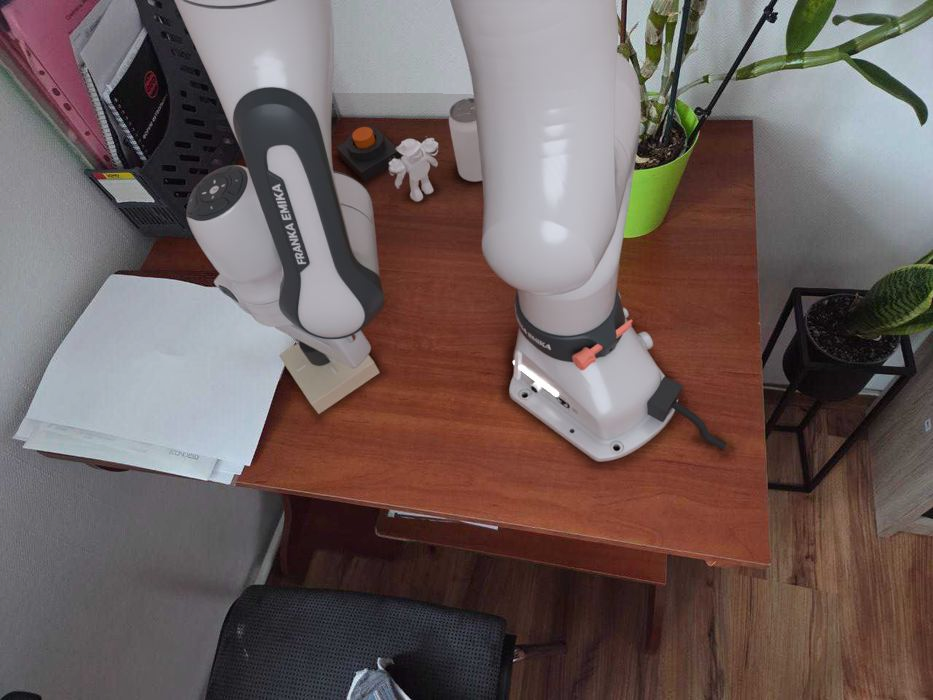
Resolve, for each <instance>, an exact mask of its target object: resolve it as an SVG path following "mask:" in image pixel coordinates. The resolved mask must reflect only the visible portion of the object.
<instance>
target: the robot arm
mask: <svg viewBox="0 0 933 700" xmlns="http://www.w3.org/2000/svg"><path fill="white" fill-rule="evenodd" d="M173 1H174V3H175V5H176V7H177V10H178V12H179V14H180V17H181V19H182V22H183V23H184V25H185V27H186V30H187V32H188V34H189V36H190V38H191V41H192V43H193V45H194V47H195V50H196V51H197V54H198V56H199V58H200V60H201V62H202V64H203V66H204V69H205V71H206V73H207V75H208V78H209V80H210V82H211V84H212V86H213V89H214V91H215V93H216V95H217V97H218V100H219V102H220V104H221V107H222V109H223V112H224V114H225V117H226V119H227V122H228V124H229V126H230V128H231V131H232V133H233V135H234V138H235V140H236V142H237V144H238V147H239V148H240V151H241V153H242V156H243V160H244V162H245V166H243V165H237V164H233V165H232V164H231V165H226V166H222V167H220V168H217V169H215V170H213V171H211V172H210V173H208V174H207V175H205V176H203V178H202V179H201V180H199V182H198V183H197V184H196V185H195V186H194V188H193V189H192V191H191V193H190V194H189V195H190V196H189V198H188V201H187V205H186V212H185V213H186V221H187V224H188V227H189V229H190V231H191V233H192V235H193V236H194V239H195V240H196V242H197V244H198V246H199V247H200V249H201V250H202V252H203V253H204V255H205V256H206V258H207V259H208V260H209V262H210V263H211V264H212V266H213V267H214V269H215V270H216V271H217V273H218V275H217V276H216V277H215V279H214V280H213V284H214V285H215V287H216V288H217V289H218V290H219V291H220V292H221V293H223V294H224V295H225V296H227V297H229V298H231V300H232V301H233V302H234V303H235V304H236V305H237V306H238V307H239V308H240V309H242V310H243V311H244V312H245V313H247V314H248V315H250V316H251V318H253V320H255V321H256V322H257V323H258V324H260V325H262V326H266V327H269V328H275V329H276V330H278V331H280V332H282V333H284V334H286V335H288V337H290V338H291V339H293V341H294V343H295V345H296V344H298V345H299V341H301V342H303V343H305V344H307V345H308V346H310V347H312V348H314V349H316V350H318V351H320V352H322V355H323V356H324V357H325V359H326V360H328V361H330V362H332V363H334V364H335V363H336V362H337V361H338V362H340V363H342V364H344V365H346V366H348V367H350V368H352V369H354V368H357V367H358V366H359V365H360V364H361V363H362V362H363V361H364V360H365V358H366V357H367V356H368V355H370V353H371V351H372V346H371V344H370V341H369V340H368V339H367V337H366V336H365V334H364V332H363V331H362V330H364V329H365V328H366V327H367V326H369V325H370V324H371V323H372V322H373V321H374V320H375V319H376V318H377V317H378V315H379V314H380V313H381V312H382V310H383V309H384V307H385V303H386V302H385V294H384V288H383V283H382V279H381V277H380V275H381V274H380V265H379V256H378V246H377V245H378V244H377V233H376V225H375V216H374V208H373V204H374V203H373V198H372V196H371V194H370V192H369V191H368V190H367V188H366V187H365V186H364V185H363V184H362V183H361V182H360V181H358V180H357V179H355V178H354V177H352V176H351V175H348V174H346V173H343V172H340V171H335V170H334V167H333V154H332V118H333V117H332V115H333V114H332V113H333V93H334V92H333V91H334V67H335V32H334V16H333V4H332V0H173ZM449 1H450V4H451V9H452V11H453V15H454V19H455V22H456V25H457V30H458V32H459V35H460V39H461V42H462V45H463V49H464V53H465V57H466V59H467V64H468V69H469V74H470V79H471V85H472V92H473V93H472V95H473V98H474V103H475V112H476V123H477V134H478V144H479V153H480V163H481V172H482V181H481V183H482V196H483V197H482V199H483V200H482V201H483V212H482V215H483V218H482V230H481V231H482V233H481V251H482V254H483V258H484V259H485V262H486V263H487V265H488V266H489V267H490V269H491V270H492V271H493V273H494V274H495V275H496V276H497V277H498V278H500V279H501V280H502V281H503V282H505V283H506V284H508V285H509V286H511V287H512V288H514V289H516V291H515V299H514V301H515V302H514V314H515V317H516V318H515V319H516V322H517V326H518V330H517V337H516V343H515V347H514V350H513V355H512V364H513V365H512V366H513V374H512V378H511V380H510V383H509V386H508V395H509V397H510V399H511V400H512V401H513V402H515V403H517V405H519V406H520V407H522V408H523V409H524V410H525V411H527V412H528V413H530V414H531V415H533V416H534V417H535V418H537V419H538V420H540V421H541V422H542V423H543V424H545V425H546V426H547V427H549V428H550V429H551V430H553V431H554V432H555V433H557V434H558V435H559V436H560V437H562V438H564V440H566V441H568V442H569V443H570V444H572V445H573V446H574V447H576V448H577V449H578V450H580V451H581V452H582V453H584V454H585V455H587V456H588V457H589V458H590V459H592V460H593V461H595V462H601V463H602V462H611V461H614V460H618V459H620V458H623V457H626V456H628V455H630V454H631V453H634V452H635V451H637V450H638V449H640V448H642V447H643V446H645V445H646V444H647V443H648V442H650V441H651V440H652V439H653V438H654V437H656V436H657V435H658V434H659V433H660V432H661V431H662V430H663V429H664V428H665V427H666V426H667V424H668V423H669V422H670V421H671V419H672V417H673V416H674V414H675V412H677V413H678V414H680V415H682V416H683V417H685V418H686V419H687V420H689V421H690V422H691V423H692V424H693V425H695V426H696V428H697V429H698V431H699V434H700V435H701V437H702V438H703V439H704V440H705V441H706V442H707V443H709V444H711V445H712V446H714V447H716V448H718V449H720V450H722V451H723V450H724V449H725V448H726V446H727V445H728V443H727V442H726V441H723V440H721V439H719V438H717V437H715V436H714V435H712V434H711V433H710V432H709V429H708V426H707V425H706V423H705V422H704V421H703V420H702V419H701V418H700V417H699V416H698V415H697V414H695V413H694V412H693V411H692V410H690V409H688V408H687V407H685V405H682V403H680V402H679V398H680V396H681V393H682V390H683V387H684V385H682V384H681V383H678V382H676V381H675V380H673V379H671V378H669V377H667V376H666V375H665V374H664V373H663V371H662V370H661V369H660V367H659V366H658V365H657V363H656V362H655V360H654V359H653V356H651V354H650V352H649V350H650V349H652V348H653V347H654V342H653V339H652V337H651V335H650V334H649V333H648V332H647V331H641V332H639V333H637V332H636V331H635V329H634V327H633V319H632V318H631V319H629V320H628V317H629V316H630V315H629V311H628V310H627V308H625V307H623V304H622V301H621V293H620V292H619V290H618V287H617V286H618V279H619V271H620V270H619V269H620V261H621V253H622V247H623V241H624V235H625V229H626V224H627V219H628V218H627V217H628V211H629V206H630V198H631V193H632V186H633V180H634V173H635V168H636V167H635V166H636V161H637V153H638V147H639V139H640V133H641V125H642V101H641V89H640V87H641V86H640V81H639V76H638V74H637V73H636V70H635V68H634V67H633V65H632V64H631V63H630V62H629V61H628V60H627V59H626V58H625V57H624V56H623V55H622V54H620V53H618V44H619V19H618V9H617V8H618V7H617V0H449ZM524 395H525V396H527V397H523V396H524ZM616 447H617V448H618V449H619V450H615V449H614V448H616Z"/></svg>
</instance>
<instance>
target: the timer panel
mask: <svg viewBox="0 0 933 700" xmlns="http://www.w3.org/2000/svg"><path fill="white" fill-rule="evenodd" d="M278 357H279V358H280V360H281V361H282V363H283V364H284V365H285V368H286V370H287V371H288V372H289V373H290V375H291V376H292V378H293V380H294V381H295V383H296V384H297V385H298V387H299V389H300V390H301V392H302V393H303V395H304V396H305V398H306V400H307V401H308V402H309V404H310V405H311V407H312V408H313V409H314V410H315V411H316V413H317V414H318V415H320V414H321V413H323V412H325V411H326V410H327V409H329V408H331V407H332V406H334V405H335V404H336V403H338V402H339V401H340V400H342V399H343V398H346V396H348V395H349V394H351V393H352V392H354V391H355V390H357V389H358V388H360V387H361V386H362V385H364V384H366V383H367V382H368V381H370V380H371V379H373V378H374V377H376V376H377V375H379V374H380V370H379V368H378V366H377V364H376V363H375V361H374V359H373V358H372V357H371V356H370V354H368V356H367V357H366V358H365V360H364V361H363V362H362V363H361V364H360V365H359V366H358V367H357V368H354V369H352V368H350V367H348V366H346V365H344V364H342V363H340V362H338V361H337V362H336V363H335V364H334V363H332V362H329V363H328V364H326V365H323V366H316V365H313V364H311V363H310V361H309V360H308V359H307V357H306V356H305V354H304V353H303V351H302V350H301V349H300V346H299V345H298V344H296V343H295V344H294V345H292V346H291V347H289V348H288V349H286V350H285V351H283V352H282V353H280V354H278Z"/></svg>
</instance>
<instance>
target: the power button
mask: <svg viewBox="0 0 933 700" xmlns="http://www.w3.org/2000/svg"><path fill="white" fill-rule="evenodd" d="M352 133H353V134H352ZM352 133H351V134H352V137H353V140H354V143H355V145H356V147H357V148H361V149H363V148H368V147H370V146H371V145H373V144H374V143H375V137H374V134H373V131H372V129H371V127H370V128H369V126H361V127H358V128H356V129H355V130H354V131H353V132H352Z"/></svg>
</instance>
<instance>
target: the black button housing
mask: <svg viewBox="0 0 933 700" xmlns="http://www.w3.org/2000/svg"><path fill="white" fill-rule="evenodd" d="M368 127H369V126H368ZM369 128H371V129H372V131H373V134H374V137H375V143H374V144H373V145H371V146H370V147H368V148H363V149H361V148H357V147H356V145H355V143H354V140H353V137H352V134H353V132H352V133H351V134H350V135H349V136H348V138H347V139H346V141H344V142H343V143H340V144H339V145H337V146H336V150H337V154H338V156H339V157H340V159H341V160H342V161H343V162H344V164H346V165H347V166H348V167H349V168H350V169H351V170H352V171H353V172H354V173H355V174H356V175H357V176H358V177H359V179H361V180H362V181H363V183H365V182H367V181H369V180H370V179H372V178H373V177H376V176H377V175H379V174H380V173H382V172H384V171H386V170H387V169H389V166H390V165H389V164H388V163H389V162H390V161H392V159H394V158H395V159H400V160H401V157H402V156H403V155H402V154H400V153H399V152H398V151H397V150H398V149H397V150H396V148H398V147H397V146H396V145H395V144H394V143H393V142H392V141H391V140H389V139H388V137H386V136H385V134H384V133H383V132H382V131H381V130H380V129H378V128H377V127H375V126H374V125H371V127H369ZM390 158H391V159H390Z"/></svg>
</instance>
